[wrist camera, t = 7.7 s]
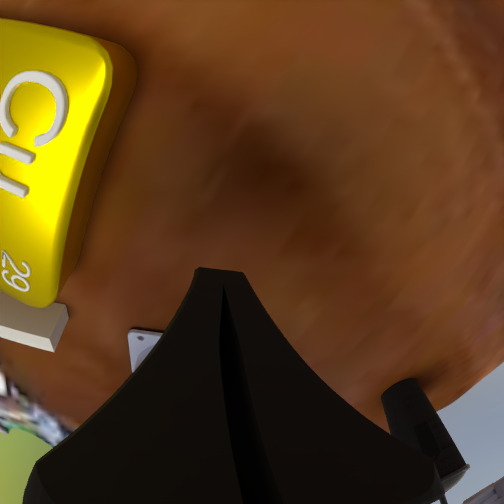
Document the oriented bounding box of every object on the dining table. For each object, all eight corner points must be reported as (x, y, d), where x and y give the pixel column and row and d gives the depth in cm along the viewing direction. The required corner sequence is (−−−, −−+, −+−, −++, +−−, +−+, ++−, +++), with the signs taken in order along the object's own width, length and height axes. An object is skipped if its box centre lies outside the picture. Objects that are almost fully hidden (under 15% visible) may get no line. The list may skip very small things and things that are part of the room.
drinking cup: (357, 407, 31) (402, 553, 14) (400, 368, 28) (466, 530, 11) (397, 407, 33) (443, 531, 17) (437, 372, 30) (497, 504, 13)
